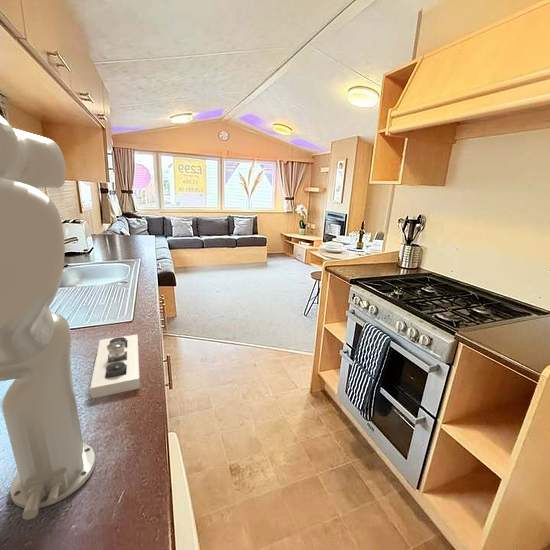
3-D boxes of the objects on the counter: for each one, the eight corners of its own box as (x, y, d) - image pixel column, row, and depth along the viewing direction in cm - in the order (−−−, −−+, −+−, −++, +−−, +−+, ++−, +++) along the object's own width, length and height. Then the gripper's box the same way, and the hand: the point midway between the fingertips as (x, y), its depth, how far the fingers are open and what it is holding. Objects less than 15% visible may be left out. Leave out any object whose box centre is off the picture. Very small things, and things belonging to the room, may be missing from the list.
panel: (140, 388, 80) (139, 378, 79) (91, 398, 75) (90, 388, 74) (138, 342, 102) (137, 334, 101) (101, 348, 98) (99, 339, 97)
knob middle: (126, 360, 87) (124, 347, 86) (108, 363, 85) (106, 350, 84) (126, 352, 91) (125, 340, 90) (109, 355, 89) (107, 343, 88)
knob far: (127, 354, 94) (126, 342, 93) (110, 357, 92) (109, 345, 91) (127, 347, 98) (126, 336, 97) (111, 349, 96) (110, 338, 95)
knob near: (126, 382, 81) (125, 369, 80) (107, 386, 79) (105, 373, 78) (126, 373, 85) (125, 360, 84) (108, 376, 83) (106, 363, 82)
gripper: (31, 215, 55) (48, 309, 60) (50, 209, 68) (63, 286, 73) (-23, 216, 52) (0, 314, 57) (8, 209, 65) (25, 289, 70)
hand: (35, 298), depth 65 cm, fingers closed
